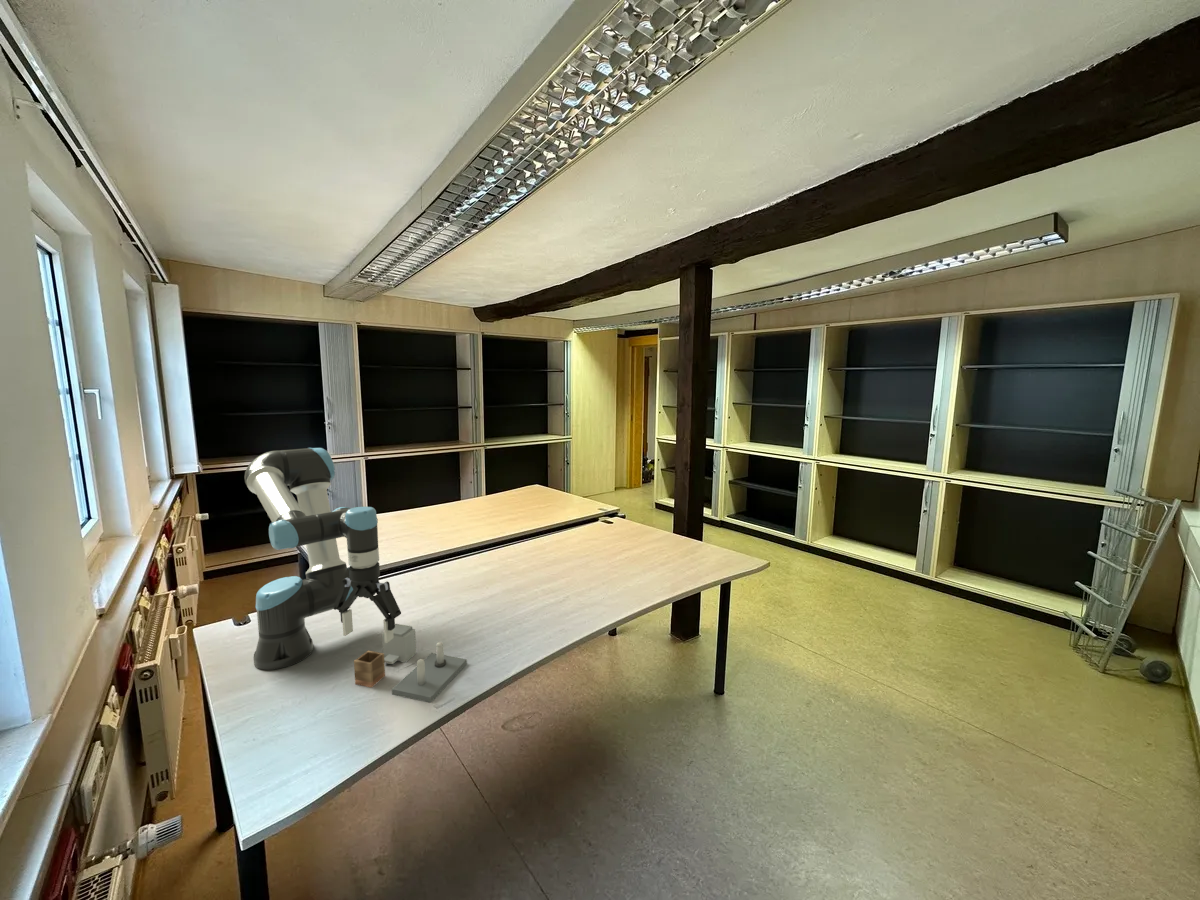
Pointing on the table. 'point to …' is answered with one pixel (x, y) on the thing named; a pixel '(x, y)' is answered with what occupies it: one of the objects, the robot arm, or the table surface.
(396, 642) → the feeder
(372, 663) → the sleeve
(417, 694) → the pinboard
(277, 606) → the robot arm
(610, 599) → the table surface
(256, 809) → the table surface
